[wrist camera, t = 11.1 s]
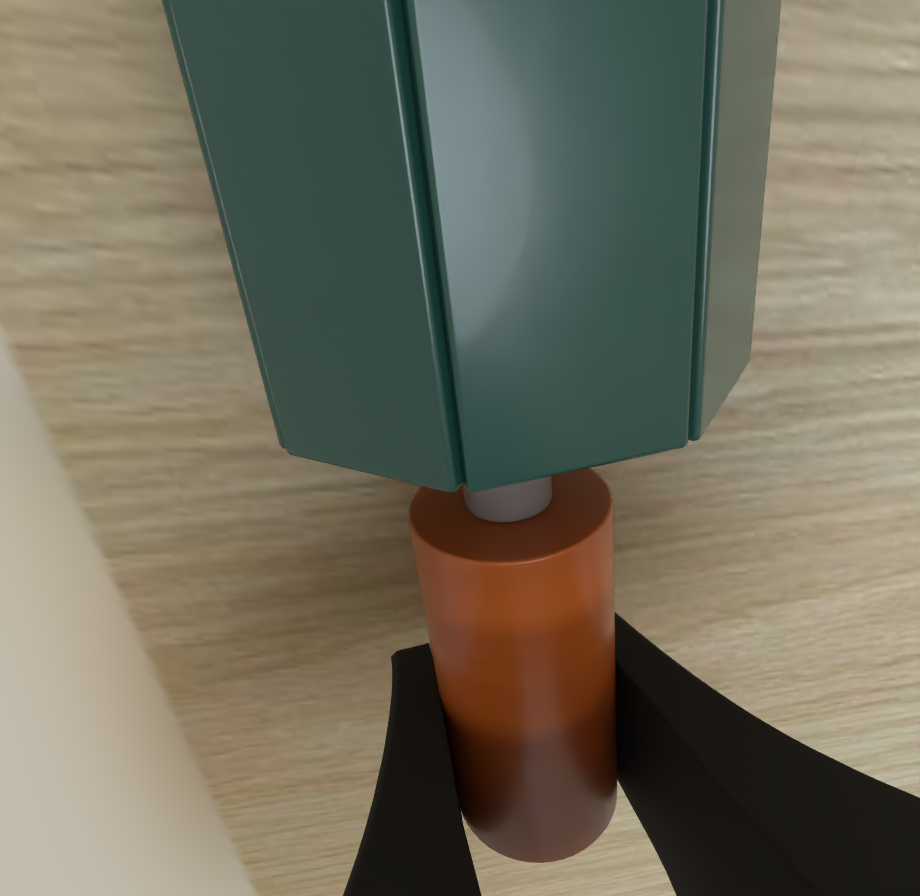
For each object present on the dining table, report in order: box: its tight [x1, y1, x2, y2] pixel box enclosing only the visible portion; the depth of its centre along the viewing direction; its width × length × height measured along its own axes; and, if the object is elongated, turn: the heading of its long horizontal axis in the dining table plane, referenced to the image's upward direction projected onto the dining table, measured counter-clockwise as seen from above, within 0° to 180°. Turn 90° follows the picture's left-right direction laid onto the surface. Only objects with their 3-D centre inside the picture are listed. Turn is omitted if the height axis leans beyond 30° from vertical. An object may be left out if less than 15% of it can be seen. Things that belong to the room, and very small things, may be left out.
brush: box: [408, 468, 617, 863], centre depth 9 cm, size 15×3×3 cm, turn 7°
